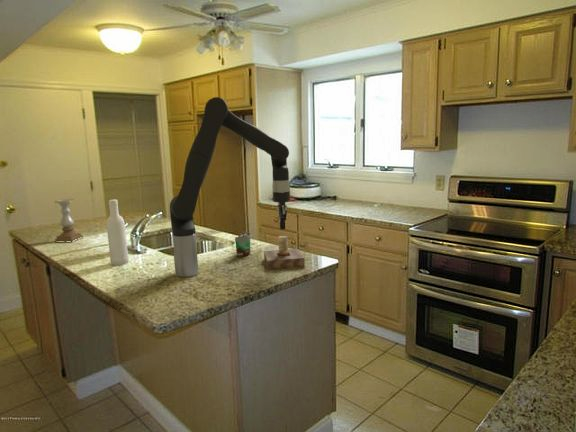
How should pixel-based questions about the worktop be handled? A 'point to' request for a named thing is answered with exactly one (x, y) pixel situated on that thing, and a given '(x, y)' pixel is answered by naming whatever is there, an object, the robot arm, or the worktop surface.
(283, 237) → the dowel
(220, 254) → the worktop surface
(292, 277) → the worktop surface
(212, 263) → the worktop surface
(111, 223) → the bottle
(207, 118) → the robot arm
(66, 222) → the candle holder
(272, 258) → the socket block
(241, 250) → the food container
